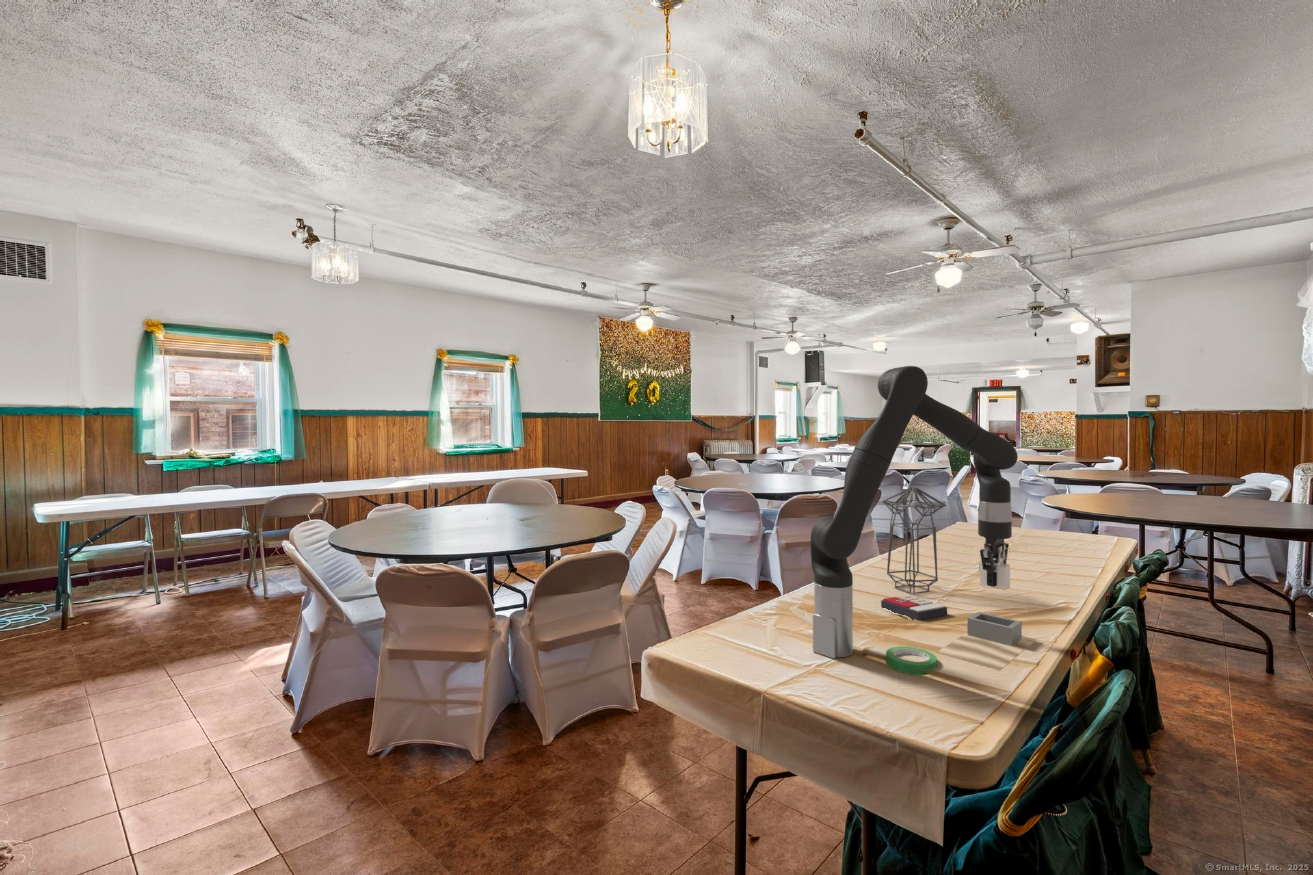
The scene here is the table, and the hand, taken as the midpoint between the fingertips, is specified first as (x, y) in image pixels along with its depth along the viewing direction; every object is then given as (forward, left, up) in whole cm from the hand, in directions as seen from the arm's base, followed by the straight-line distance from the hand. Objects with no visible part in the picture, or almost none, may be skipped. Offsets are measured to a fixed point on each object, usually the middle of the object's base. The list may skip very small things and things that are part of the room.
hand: (994, 584), depth 151 cm
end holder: (0, 0, -14) cm, 14 cm away
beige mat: (-8, -1, -15) cm, 17 cm away
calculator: (+6, +24, -16) cm, 29 cm away
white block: (0, 0, -1) cm, 1 cm away
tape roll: (-30, +8, -15) cm, 35 cm away
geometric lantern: (+30, +35, -15) cm, 49 cm away
